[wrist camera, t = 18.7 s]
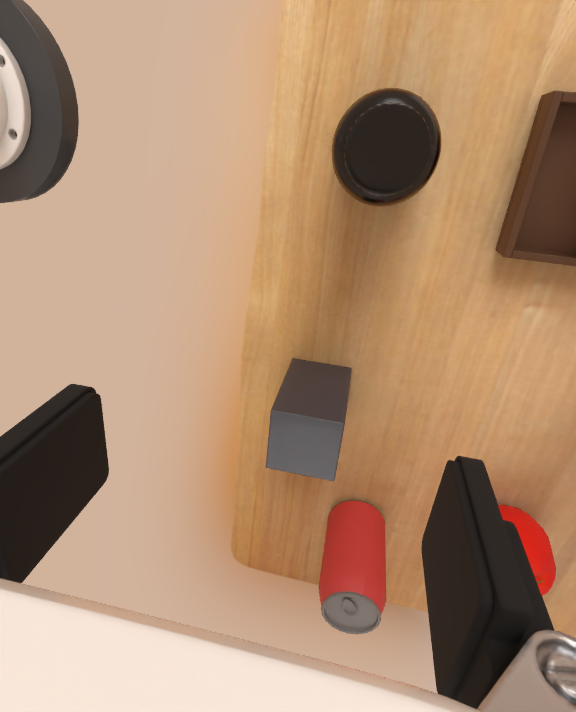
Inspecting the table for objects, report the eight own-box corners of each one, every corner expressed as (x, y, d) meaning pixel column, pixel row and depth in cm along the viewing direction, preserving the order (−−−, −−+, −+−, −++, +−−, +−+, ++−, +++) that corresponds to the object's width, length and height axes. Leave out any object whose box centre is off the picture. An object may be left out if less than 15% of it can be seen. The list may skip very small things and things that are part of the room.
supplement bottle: (332, 187, 37) (314, 202, 26) (349, 94, 34) (336, 67, 23) (414, 201, 36) (429, 223, 25) (439, 107, 33) (468, 86, 22)
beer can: (379, 495, 49) (379, 589, 39) (389, 538, 52) (392, 638, 41) (322, 499, 51) (308, 591, 40) (335, 541, 54) (325, 638, 43)
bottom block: (287, 407, 47) (265, 468, 38) (292, 357, 44) (270, 410, 35) (342, 418, 46) (334, 481, 37) (351, 367, 43) (344, 423, 34)
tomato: (530, 487, 45) (557, 545, 39) (545, 549, 48) (572, 613, 42) (438, 502, 48) (448, 558, 42) (458, 559, 51) (470, 620, 44)
